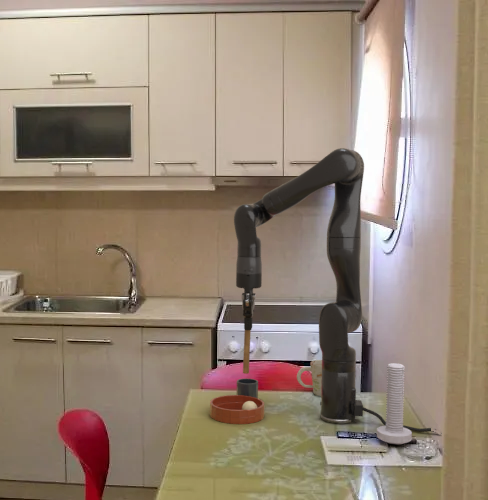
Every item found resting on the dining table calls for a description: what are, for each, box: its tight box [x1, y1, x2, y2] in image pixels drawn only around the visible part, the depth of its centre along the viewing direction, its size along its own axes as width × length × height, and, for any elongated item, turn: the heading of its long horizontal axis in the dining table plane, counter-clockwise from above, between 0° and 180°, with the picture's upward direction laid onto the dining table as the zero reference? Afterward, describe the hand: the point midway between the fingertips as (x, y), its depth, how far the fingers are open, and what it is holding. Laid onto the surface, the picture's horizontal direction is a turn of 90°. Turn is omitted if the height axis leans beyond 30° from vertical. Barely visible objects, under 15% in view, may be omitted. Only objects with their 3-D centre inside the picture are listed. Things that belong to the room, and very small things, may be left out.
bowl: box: [209, 394, 265, 425], centre depth 195 cm, size 15×15×4 cm
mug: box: [296, 359, 322, 397], centre depth 219 cm, size 8×13×10 cm, turn 78°
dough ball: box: [242, 401, 257, 410], centre depth 194 cm, size 4×4×4 cm
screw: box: [376, 362, 413, 446], centre depth 175 cm, size 8×8×20 cm
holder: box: [236, 378, 259, 399], centre depth 208 cm, size 6×6×7 cm
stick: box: [242, 329, 252, 375], centre depth 207 cm, size 2×2×18 cm
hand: (248, 329), depth 206 cm, fingers closed on stick, 2 cm apart
